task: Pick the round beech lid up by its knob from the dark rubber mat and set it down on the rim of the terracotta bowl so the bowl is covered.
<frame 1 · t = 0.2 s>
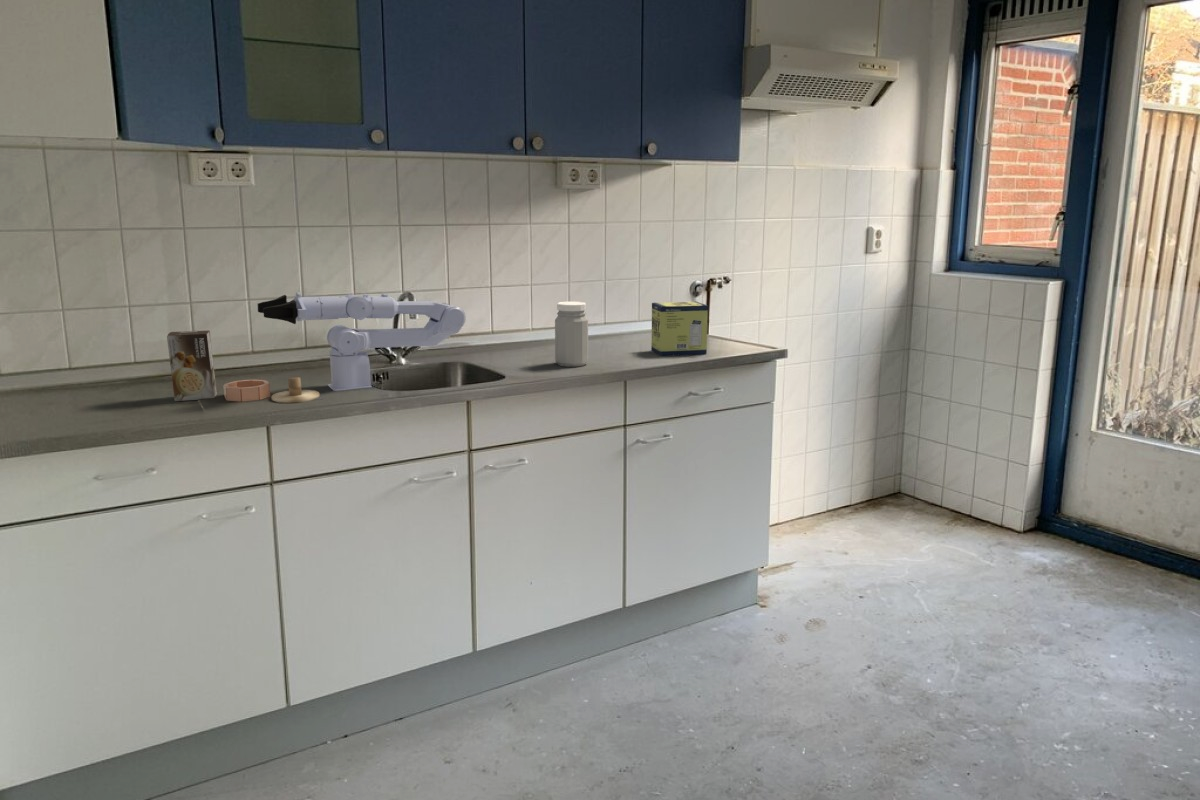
hand: (260, 310, 215), 21 cm above the worktop, tool horizontal, fingers open, 7 cm apart
coffee box: (196, 398, 218), on the worktop
mat: (298, 399, 217), on the worktop
bowl: (247, 398, 218), on the worktop
protein box: (678, 353, 283), on the worktop
jar: (571, 364, 263), on the worktop
lid: (295, 397, 216), resting on mat
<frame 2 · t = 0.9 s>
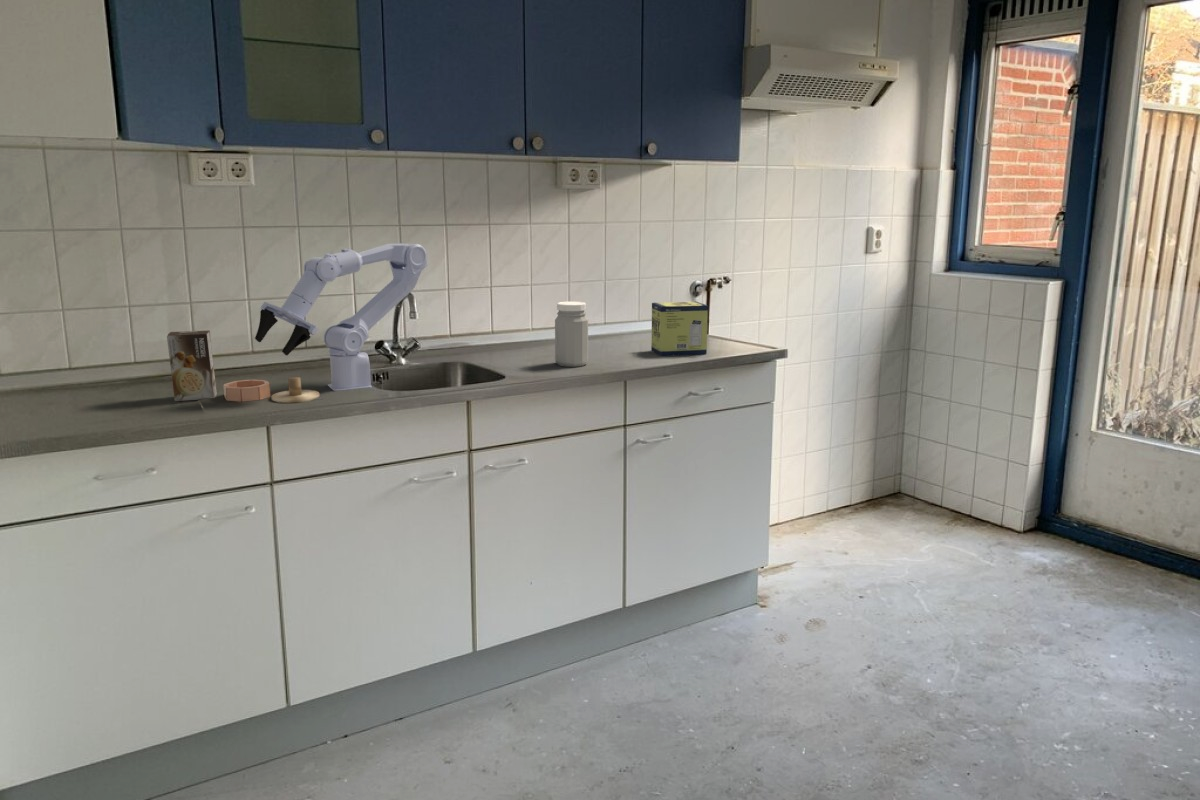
hand: (270, 347, 213), 13 cm above the worktop, tool tilted 40°, fingers open, 7 cm apart
nothing on the worktop moved.
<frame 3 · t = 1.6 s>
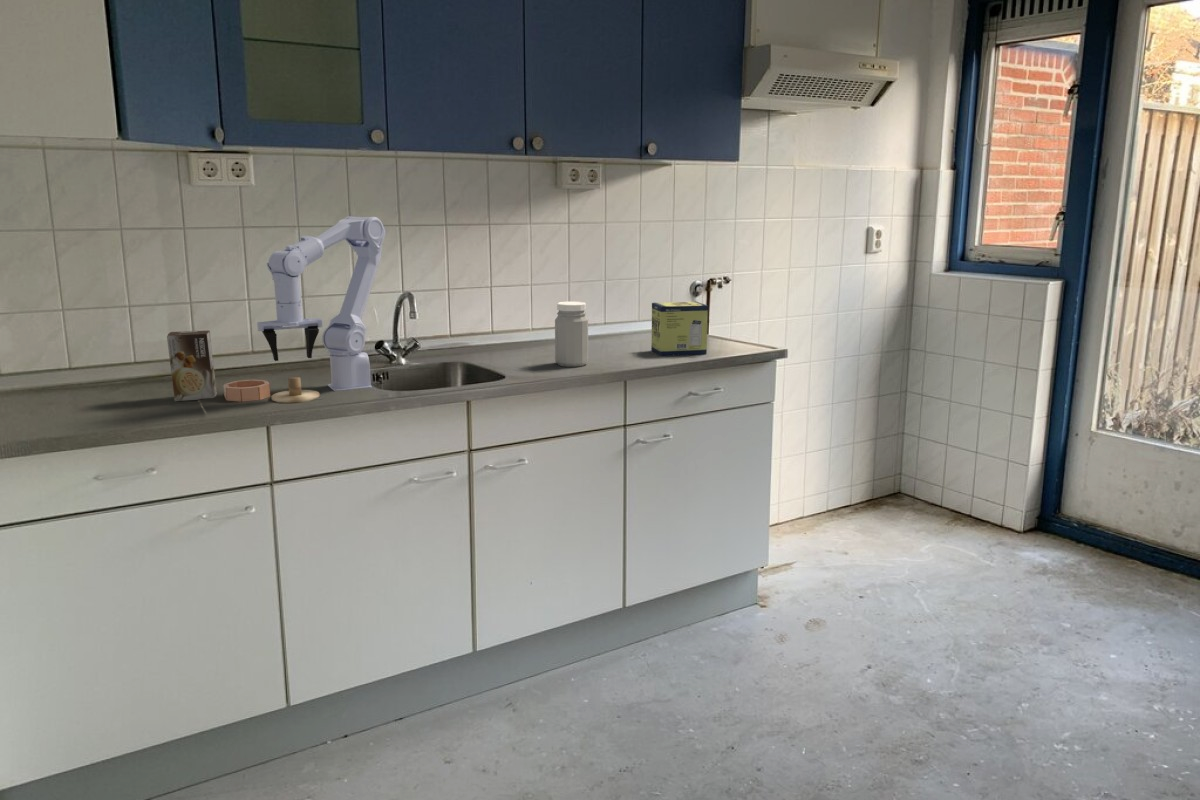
hand: (292, 358, 214), 10 cm above the worktop, tool pointing down, fingers open, 7 cm apart
nothing on the worktop moved.
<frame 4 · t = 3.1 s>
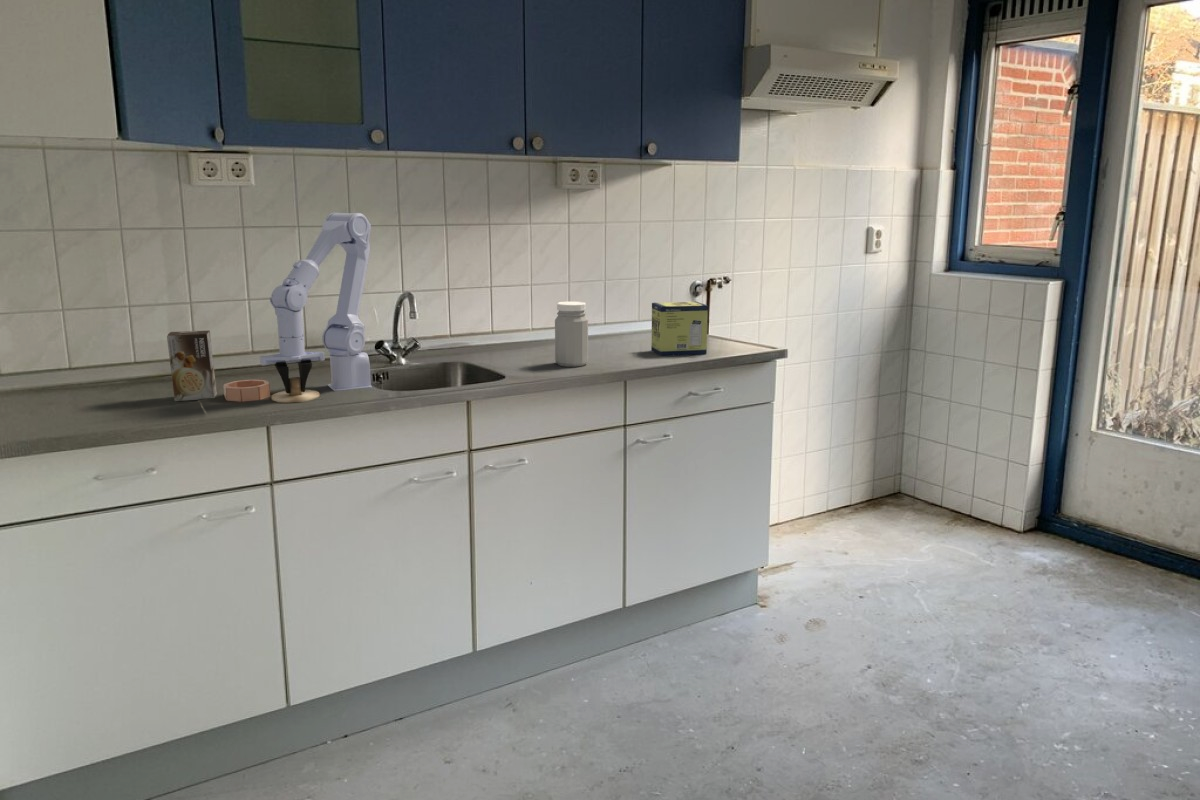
hand: (295, 392, 216), 2 cm above the worktop, tool pointing down, fingers closed on lid, 3 cm apart
lid: (295, 397, 216), resting on mat, touching gripper
everything else where it was.
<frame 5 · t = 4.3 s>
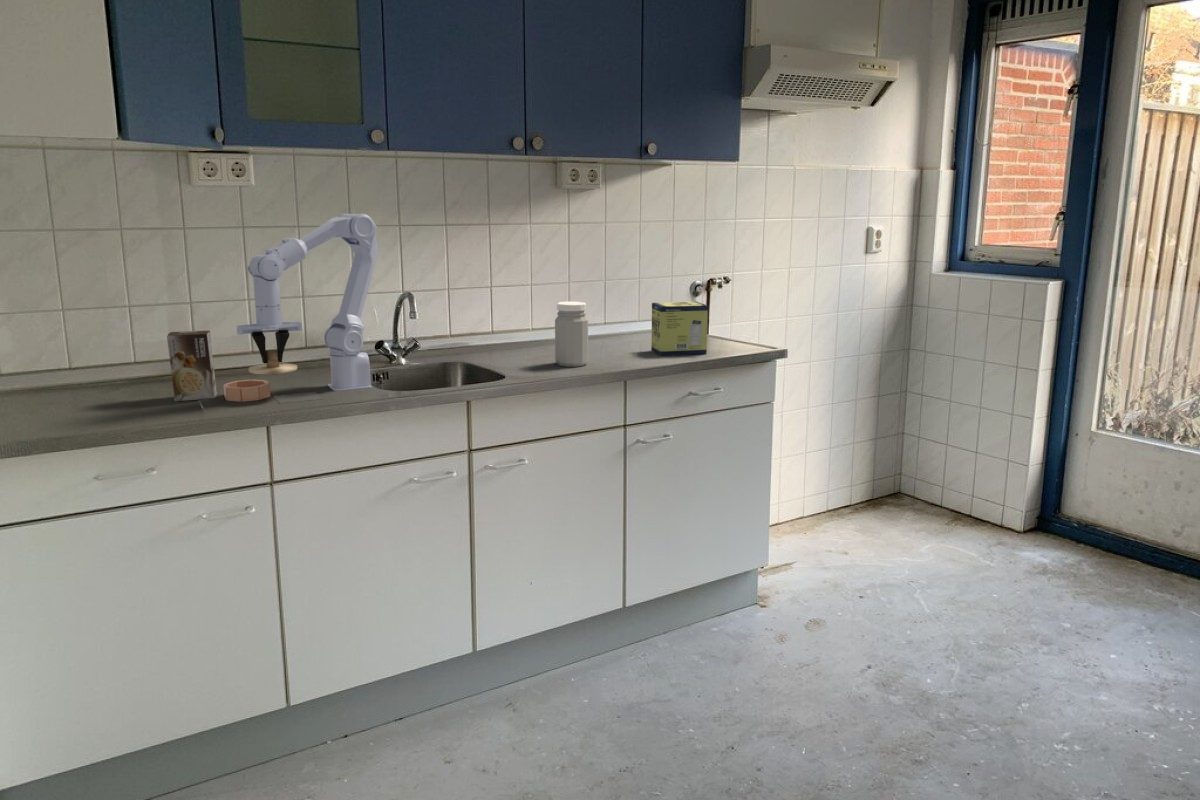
hand: (272, 362, 215), 9 cm above the worktop, tool pointing down, fingers closed on lid, 3 cm apart
lid: (273, 370, 215), point 7 cm above the worktop, touching gripper
everything else where it was.
when the fingers open (6 cm above the worktop, at t = 5.5 s): lid stays where it is, resting on bowl.
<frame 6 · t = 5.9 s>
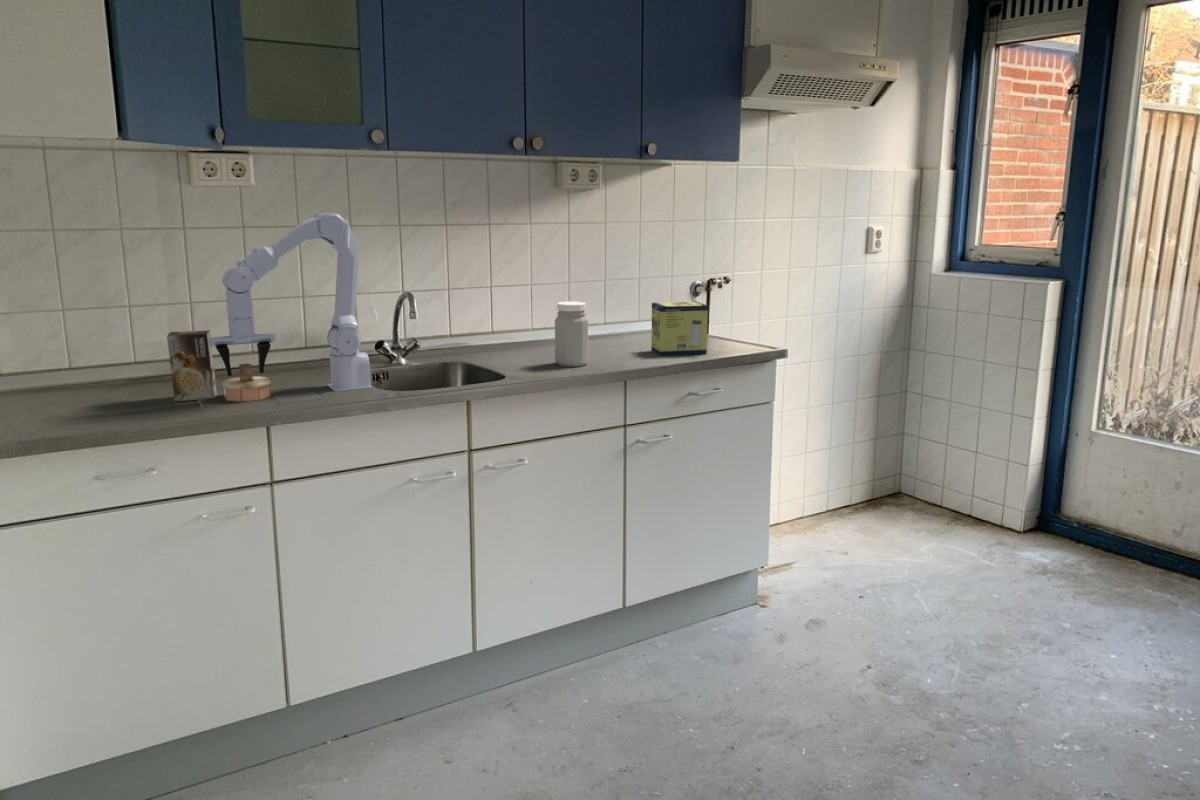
hand: (245, 373, 216), 6 cm above the worktop, tool pointing down, fingers open, 7 cm apart
lid: (246, 384, 217), point 3 cm above the worktop, touching bowl
everything else where it was.
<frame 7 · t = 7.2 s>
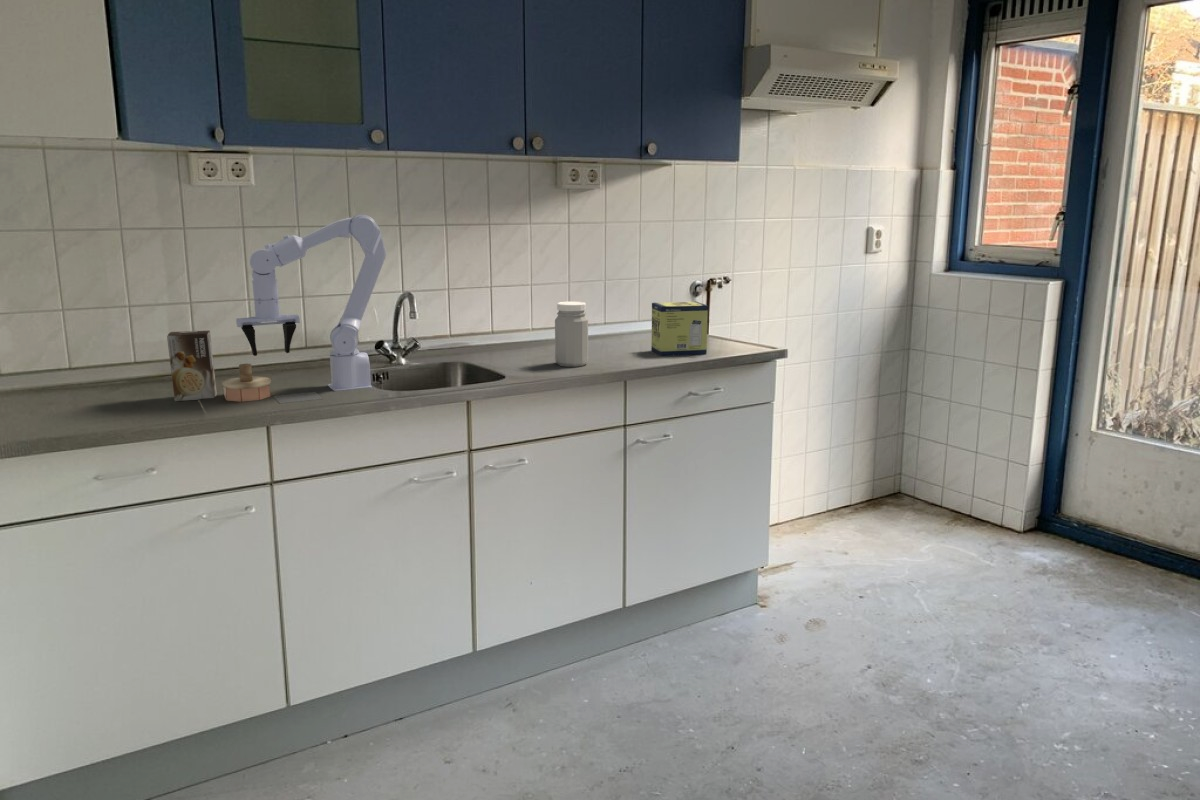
hand: (271, 353, 222), 10 cm above the worktop, tool pointing down, fingers open, 7 cm apart
nothing on the worktop moved.
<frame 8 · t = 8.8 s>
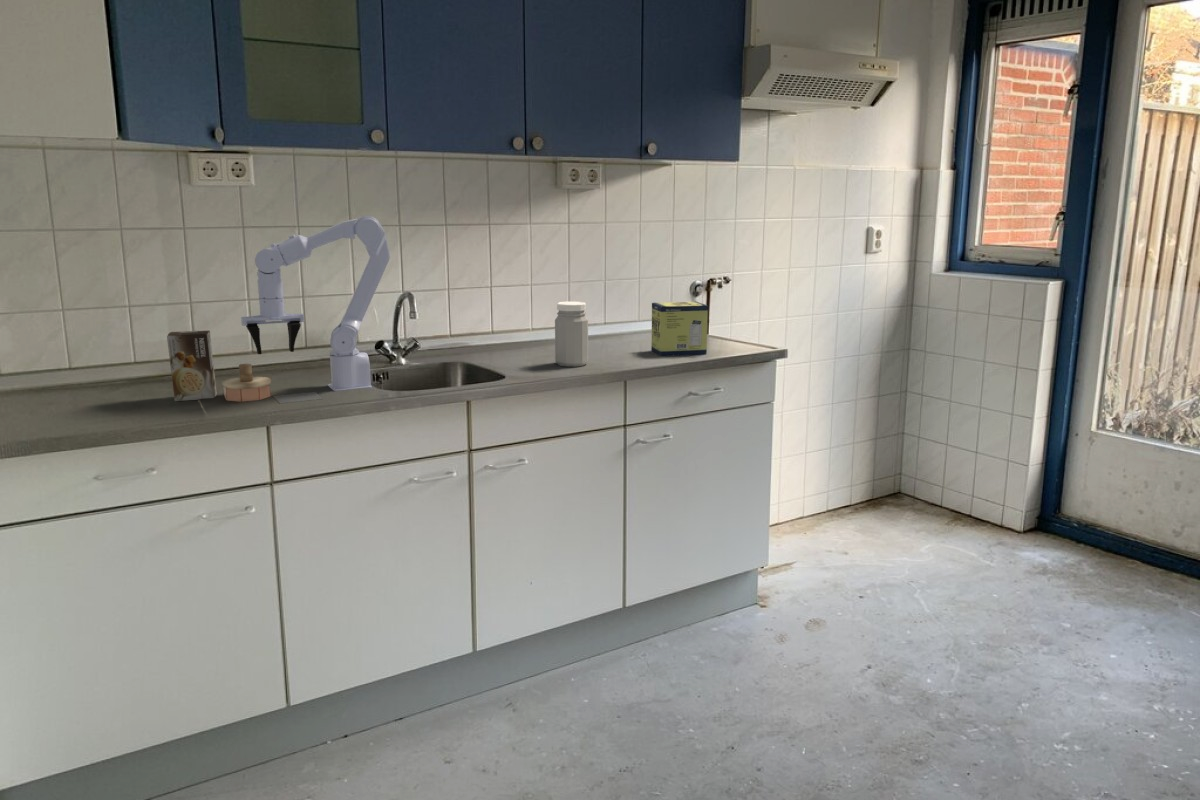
hand: (275, 352, 223), 10 cm above the worktop, tool pointing down, fingers open, 7 cm apart
nothing on the worktop moved.
at the end: lid 0.3 cm off-centre on the bowl, point 3.5 cm above the bowl's base; lid tilted 0°; the gripper is holding nothing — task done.
